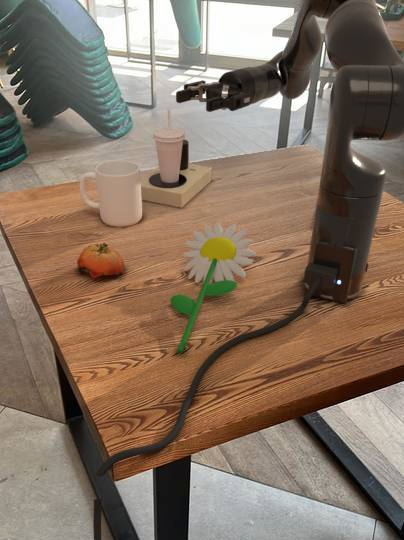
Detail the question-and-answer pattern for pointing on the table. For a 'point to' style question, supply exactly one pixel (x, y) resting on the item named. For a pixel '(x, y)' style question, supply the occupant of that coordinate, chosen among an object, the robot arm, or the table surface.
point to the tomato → (101, 260)
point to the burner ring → (157, 182)
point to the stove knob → (185, 155)
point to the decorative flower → (212, 267)
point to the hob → (178, 195)
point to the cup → (116, 192)
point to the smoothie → (169, 151)
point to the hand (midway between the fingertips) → (192, 101)
